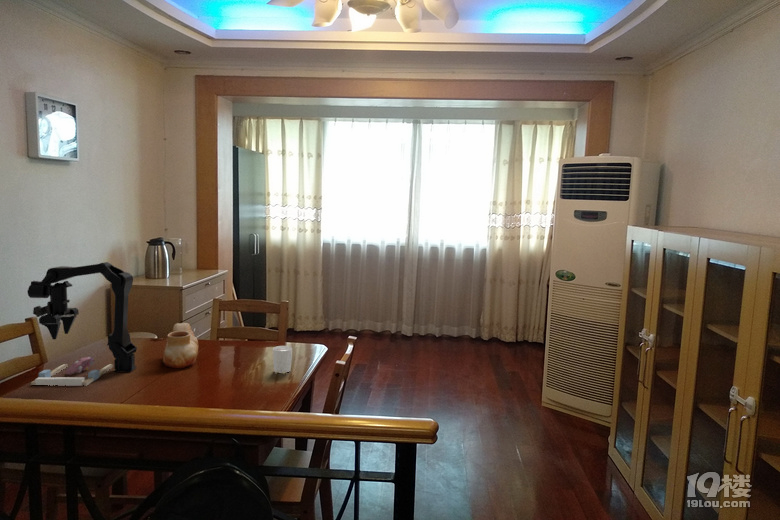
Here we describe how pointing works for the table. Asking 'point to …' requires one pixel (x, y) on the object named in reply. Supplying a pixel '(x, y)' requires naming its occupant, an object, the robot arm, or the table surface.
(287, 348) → the white cup
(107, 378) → the table surface
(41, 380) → the guide channel
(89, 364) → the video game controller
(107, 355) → the table surface
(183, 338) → the ceramic vessel
